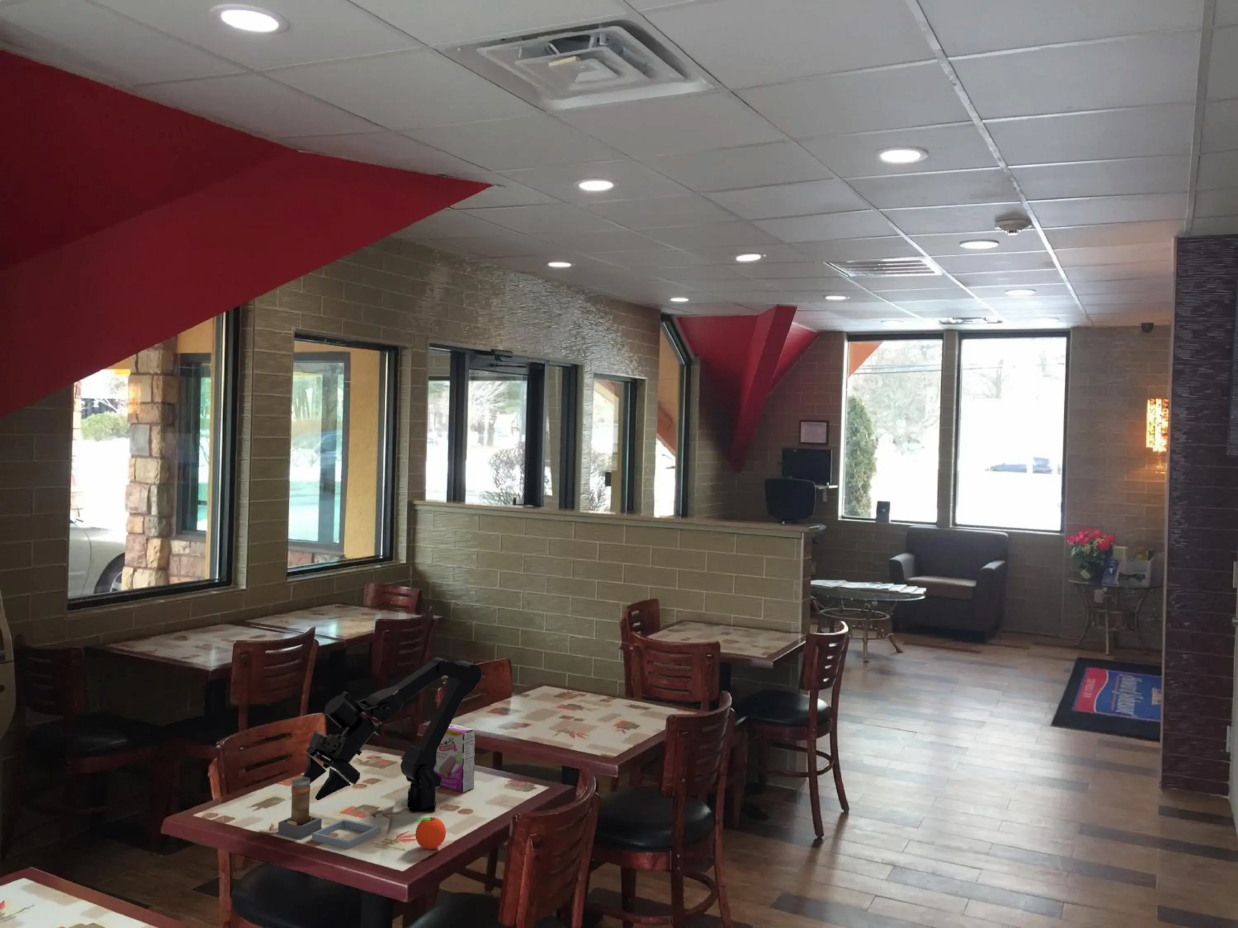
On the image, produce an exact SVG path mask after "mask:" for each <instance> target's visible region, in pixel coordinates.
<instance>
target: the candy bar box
mask: <svg viewBox="0 0 1238 928" xmlns="http://www.w3.org/2000/svg"><path fill="white" fill-rule="evenodd" d="M475 749H476V729H475V728H471V727H467V726H464V725H463V726H462V725H460V724H455V723H452V722H451V724H450V726H449V728H448V729H447V731H446V733H445V735H444V737H443V739H442V741H441V743H440V745H439V747H438V749H437V757H436V765H435V767H434V771H435V772H436V773H437V774H438V775H439V776H440V777H441V778H442V780H441V783H440V786H439V787H441V788H445V789H448V790H453V791H455V792H459V793H467V792H468V791H470V790H472V789H474V787H475V758H476V757H475V756H476V755H475V751H476V750H475Z"/></svg>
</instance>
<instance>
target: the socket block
mask: <svg viewBox="0 0 1238 928" xmlns="http://www.w3.org/2000/svg"><path fill="white" fill-rule="evenodd" d="M322 822H323V821H322V818H321V817H316V816H314V815H313V814H310V813H309V823H306V824H304V825H302V826H298V825H297V822H294V821H291V816H290V817H287V818H285V819H283V820H280V821H279V822H277V823H278V824H277V825H278V827H277V829H278V830H277V832H275V833H274V835H279V836H282V837H287V838H290V839H293V840H294V839H295V840H299V841H302V840H304V839H307V838H308V837H312V833H314V832H316V831H318V830H320V829H322V828H323V827H322Z"/></svg>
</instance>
